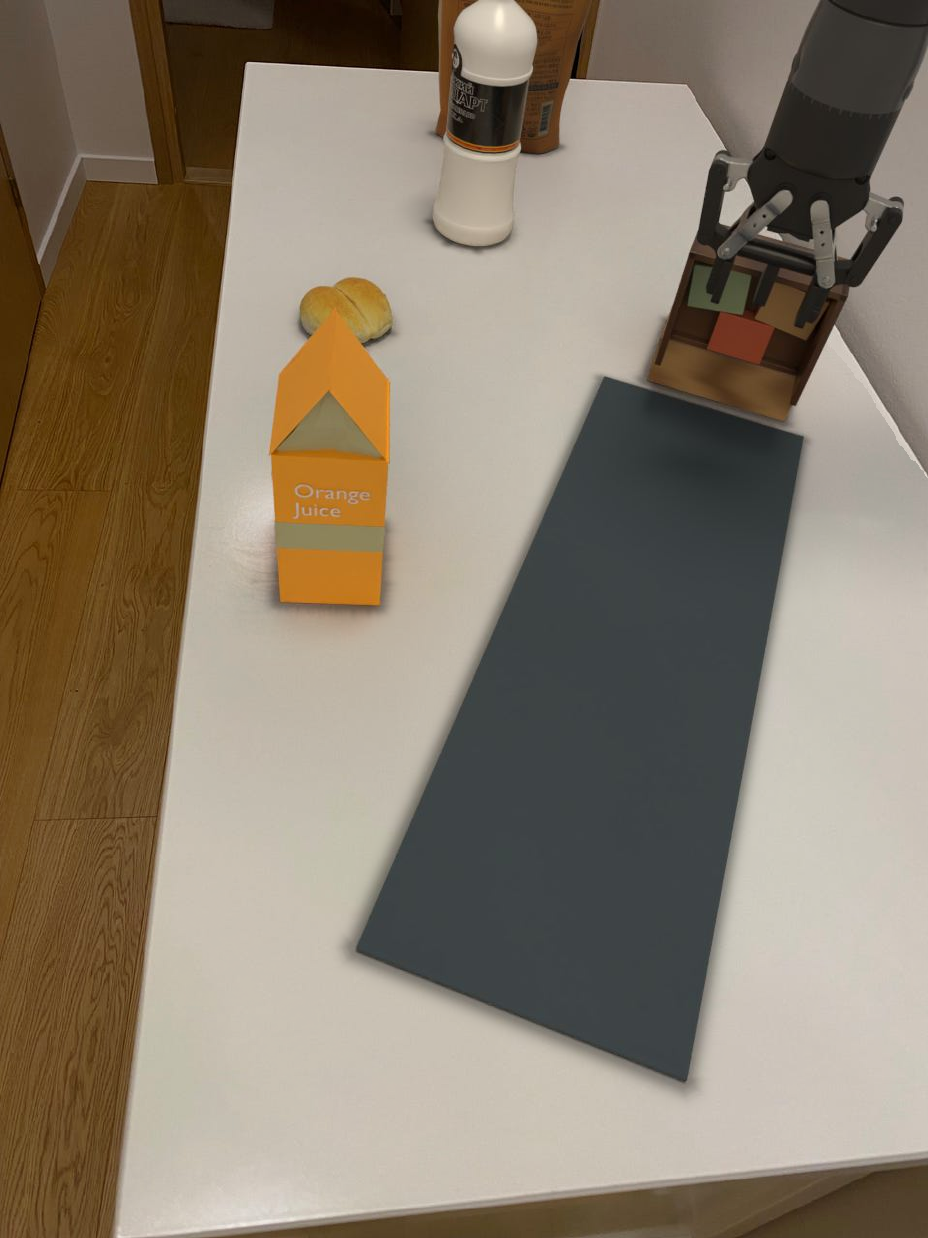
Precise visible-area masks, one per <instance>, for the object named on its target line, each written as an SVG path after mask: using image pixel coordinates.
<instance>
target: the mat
mask: <svg viewBox="0 0 928 1238" xmlns="http://www.w3.org/2000/svg"><path fill="white" fill-rule="evenodd" d="M804 438H805V436H804V435H800V434H797V433H793V432H790V431H786V430H784V429H779V428H777V427H773V426H769V425H767V424H763V423H760V422H758V421H754V420H751V419H747V418H744V417H739V416H737V415H734V414H731V413H727V412H725V411H720V410H717V409H714V408H711V407H707V406H704V405H701V404H698V403H695V402H691V401H687V400H684V399H681V398H677V397H674V396H671V395H667V394H664V393H661V392H659V391H655V390H651V389H648V388H645V387H642V386H638V385H635V384H632V383H629V382H625V381H621V380H619V379H615V378H612V377H608V376H604V377H603V379H602V381H601V382H600V385H599V387H598V390H597V392H596V394H595V397H594V399H593V401H592V404H591V406H590V408H589V410H588V412H587V416H586V417H585V419H584V422H583V424H582V427H581V429H580V431H579V434H578V436H577V438H576V440H575V443H574V445H573V448H572V449H571V452H570V455H569V457H568V459H567V462H566V463H565V466H564V467H563V471H562V473H561V476H560V477H559V480H558V482H557V484H556V487H555V489H554V492H553V494H552V496H551V498H550V501H549V503H548V505H547V507H546V509H545V512H544V513H543V516H542V519H541V521H540V524H539V526H538V528H537V530H536V533H535V535H534V538H533V539H532V542H531V544H530V547H529V549H528V551H527V553H526V556H525V558H524V561H523V563H522V566H521V567H520V570H519V572H518V574H517V577H516V579H515V581H514V583H513V586H512V589H511V590H510V592H509V595H508V598H507V599H506V602H505V604H504V606H503V609H502V611H501V613H500V616H499V618H498V620H497V623H496V624H495V628H494V629H493V632H492V634H491V636H490V639H489V641H488V643H487V645H486V648H485V650H484V652H483V655H482V657H481V660H480V661H479V664H478V666H477V668H476V671H475V673H474V675H473V678H472V680H471V682H470V685H469V687H468V689H467V692H466V694H465V696H464V698H463V700H462V703H461V705H460V708H459V710H458V713H457V715H456V717H455V720H454V721H453V724H452V726H451V729H450V730H449V732H448V735H447V738H446V740H445V742H444V744H443V747H442V749H441V751H440V753H439V756H438V758H437V761H436V763H435V765H434V768H433V770H432V772H431V774H430V777H429V779H428V781H427V784H426V786H425V788H424V791H423V793H422V795H421V798H420V800H419V802H418V804H417V807H416V809H415V811H414V814H413V815H412V818H411V821H410V822H409V825H408V827H407V830H406V832H405V834H404V837H403V839H402V841H401V843H400V846H399V848H398V850H397V853H396V855H395V857H394V859H393V862H392V864H391V867H390V868H389V871H388V874H387V876H386V877H385V880H384V882H383V885H382V887H381V889H380V892H379V893H378V897H377V899H376V901H375V903H374V906H373V907H372V910H371V913H370V914H369V917H368V919H367V922H366V924H365V927H364V928H363V931H362V934H361V936H360V938H359V940H358V943H357V944H356V948H355V950H356V952H359V953H362V954H364V955H366V956H368V957H372V958H374V959H377V960H379V961H382V962H385V963H387V964H389V965H392V966H395V967H397V968H400V969H403V970H405V971H407V972H410V973H412V974H415V975H417V976H418V977H419V976H420V977H422V978H425V979H427V980H429V981H431V982H434V983H437V984H440V985H442V986H444V987H447V988H449V989H452V990H454V991H457V992H459V993H462V994H464V995H467V996H470V997H472V998H475V999H476V1000H480V1001H481V1002H484V1003H487V1004H490V1005H492V1006H494V1007H497V1008H498V1009H499V1008H500V1009H502V1010H504V1011H507V1012H509V1013H512V1014H514V1015H517V1016H519V1017H522V1018H524V1019H527V1020H529V1021H532V1022H534V1023H537V1024H540V1025H542V1026H545V1027H547V1028H549V1029H552V1030H555V1031H557V1032H560V1033H562V1034H565V1035H566V1036H570V1037H572V1038H574V1039H576V1040H577V1039H578V1040H579V1041H582V1042H584V1043H587V1044H590V1045H592V1046H595V1047H597V1048H600V1049H602V1050H604V1051H607V1052H609V1053H612V1054H615V1055H617V1056H620V1057H622V1058H625V1059H627V1060H630V1061H632V1062H634V1063H637V1064H639V1065H643V1066H644V1067H647V1068H650V1069H652V1070H655V1071H657V1072H660V1073H662V1074H665V1075H667V1076H669V1077H671V1078H674V1079H677V1080H680V1081H682V1082H687V1081H688V1079H689V1078H688V1077H689V1073H690V1068H691V1062H692V1057H693V1050H694V1044H695V1039H696V1034H697V1027H698V1023H699V1018H700V1011H701V1006H702V1002H703V1001H702V1000H703V996H704V989H705V984H706V978H707V973H708V968H709V962H710V956H711V951H712V945H713V940H714V935H715V929H716V923H717V918H718V913H719V907H720V901H721V896H722V892H723V891H722V890H723V885H724V880H725V879H724V878H725V874H726V869H727V864H728V863H727V862H728V857H729V851H730V846H731V841H732V835H733V829H734V823H735V817H736V813H737V808H738V803H739V796H740V792H741V786H742V780H743V774H744V769H745V764H746V757H747V752H748V748H749V741H750V737H751V736H750V735H751V730H752V724H753V720H754V713H755V709H756V702H757V697H758V691H759V686H760V680H761V675H762V671H763V670H762V669H763V664H764V658H765V653H766V648H767V643H768V637H769V631H770V625H771V620H772V614H773V610H774V609H773V608H774V604H775V598H776V594H777V593H776V592H777V587H778V582H779V576H780V571H781V565H782V558H783V553H784V549H785V543H786V537H787V533H788V532H787V531H788V526H789V520H790V515H791V510H792V504H793V498H794V493H795V488H796V482H797V478H798V477H797V476H798V471H799V465H800V459H801V455H802V449H803V444H804Z"/></svg>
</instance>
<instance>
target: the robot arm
mask: <svg viewBox="0 0 928 1238" xmlns="http://www.w3.org/2000/svg"><path fill="white" fill-rule="evenodd" d="M927 51H928V0H818V3H817V5H816V7H815V9H814V11H813V13H812V15H811V17H810V19H809V21H808V23H807V25H806V28H805V30H804V33H803V35H802V38H801V40H800V43H799V46H798V49H797V51H796V53H795V55H794V57H793V59H792V62H791V66H790V72H789V74H788V77H787V80H786V83H785V85H784V88H783V91H782V94H781V96H780V99H779V102H778V105H777V108H776V111H775V113H774V116H773V120H772V122H771V125H770V128H769V130H768V134H767V135H766V139H765V142H764V144H763V146H762V147H761V149H760V150H759V152H758V153H756V155H755V156H754V157H753V158H752V159H749V158H740V157H735V156H732V154H731V153H730V152H729V150H727V149H721V150H718V151H717V152H716V153H715V155H714V157H713V159H712V161H711V165H710V167H709V170H708V173H707V179H706V183H705V190H704V194H703V195H704V196H703V200H702V208H701V212H700V218H699V222H698V227H697V228H698V229H697V231H698V234H697V233H696V234H697V241H698V242H699V243H700V244H701V245H708V246H710V247H711V248H712V249H713V250H714V251H715V253H716V259H715V262H714V265H713V268H712V270H711V273H710V276H709V279H708V282H707V285H706V293H708V294H711V295H712V298H711V301H710V302H712V303H715V304H719V302H720V299H721V296H722V294H723V291H724V288H725V285H726V283H727V280H728V277H729V275H730V272H731V269H732V266H733V264H734V261H735V257H736V254H737V252H738V251H739V250H740V249H741V248H742V247H743V246H744V245H745V244H746V243H747V242H748V241H751V240H752V239H753V238H754V237H755V236H756V235H758V234H759V235H760V233H761V232H762V231H763V230H764V229H765V228H766V232H767V231H768V232H771V233H774V234H788V235H790V236H792V237H793V238H796V239H797V240H800V241H803V242H807V243H809V242H810V240H813V241H812V242H813V250H814V254H815V260H816V267H817V272H816V271H815V273H814V276H813V278H812V280H811V282H810V285H809V287H808V289H807V292H806V294H805V296H804V298H803V301H802V303H801V305H800V307H799V310H798V312H797V315H796V319H795V323H794V326H795V327H798V328H802V329H803V328H804V326H805V323H806V322H808V323H811V324H812V323H813V322H814V321H815V320H816V319H817V318H818V316H819V314H820V311H821V309H822V307H823V305H824V303H825V301H826V298H827V296H828V294H829V292H830V290H831V289H832V288H833V287H834V286H837V285H843V284H847V285H848V286H849V287H850V288H858V287H860V286H861V285H862V284H863V283H864V281H865V279H866V278H867V276H868V275H869V273H870V271H871V270H872V268H873V267H874V266H875V264H876V262H877V261H878V260H879V258H880V256H881V255H882V253H883V252H884V250H885V249H886V247H887V246H888V244H889V243H890V241H891V240H892V238H893V237H894V235H895V234H896V232H897V231H898V230H899V227H900V226H901V225H902V223H903V218H904V208H905V201H904V199H903V198H902V197H900V196H892V197H889V199H888V198H885V197H883V196H881V195H878V194H877V193H874V192H872V191H871V181H870V180H871V178H872V175H873V173H874V171H875V169H876V166H877V164H878V162H879V160H880V158H881V156H882V154H883V151H884V149H885V147H886V144H887V142H888V140H889V138H890V135H891V134H892V132H893V129H894V126H895V125H896V122H897V121H898V118H899V116H900V113H901V111H902V109H903V107H904V105H905V103H906V101H907V99H908V98H909V97H910V95H911V93H912V91H913V89H914V85H915V80H916V78H917V76H918V74H919V72H920V69H921V67H922V64H923V61H924V59H925V56H926V53H927ZM742 179H746V180H747V183H748V187H749V190H750V193H751V196H752V200H753V201H752V202H751V203H750V204H749V205H748V206H747V207H746V208H745V210H744V211H743V212H742V214H741V215H740V217H738V219H736V220H735V221H734V222H733V223H732V224H731V225H730V228H729V229H727V228H726V227H724V226H723V225H724V224H723V223H720V219H721V215H722V209H723V204H724V199H725V193H730V192H732V191H734V190H735V188H736V187H737V184H738V182H739V181H741V180H742ZM862 211H863V212H865V213H866V217H865V223H864V227H865V229H866V231H867V232H866V234H865V235H864V237H863V238H862V240H861V241H860V243H859V244H858V247H857V248H856V249H855V251H854V252H853V254H852V255H851V257H850V260H838V243H837V242H838V232H837V230H838V229H837V228H838V227H839V226H841V225H842V224H844V223H845V222H847V221H848V220H850V219H852V218H853V217H854V216H856V215H858V214H859V213H861V212H862ZM722 224H723V225H722Z"/></svg>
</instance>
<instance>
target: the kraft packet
mask: <svg viewBox="0 0 928 1238" xmlns="http://www.w3.org/2000/svg"><path fill="white" fill-rule="evenodd" d="M806 292H807V291H804V290H800V289H797V288H793V287H790V286H786V285H783V284H779V283H776V282H775V283H774V285H773V288H772V290H771V293H770V295H769V298H768V300H767V302H766V305H765V307H762V306H759V307H758V308H757V311H756V315H755V319H756V320H759V321H761V322H763V323H766V324H768V325H771V326H773V327H775V328H778V329H780V330H782V331H785V332H787V333H789V334H792V335H794V336H796V337H799V338H801V339H803V340H807V339H808V337H809V335H810V334H811V332H812V331H813V329H814V328H815V326H816V324H817V323H818V321H819V320H820V318H821V317H822V315H823V313H824V312H825V310H826V309H827V307H828V305H829V304H830V300H831V298H829V297H827V298H826V301H825V303H824V305H823V307H822V309H821V311H820V314H819V316H818V318H817V319H816V320H815V321H814V322H813V323H812V324H811V323H808V322H806V323H805V326H804V328H803V329H802V328H798V327H795V326H794V323H795V319H796V315H797V312H798V310H799V307H800V305H801V303H802V301H803V298H804V296H805V294H806Z"/></svg>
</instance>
